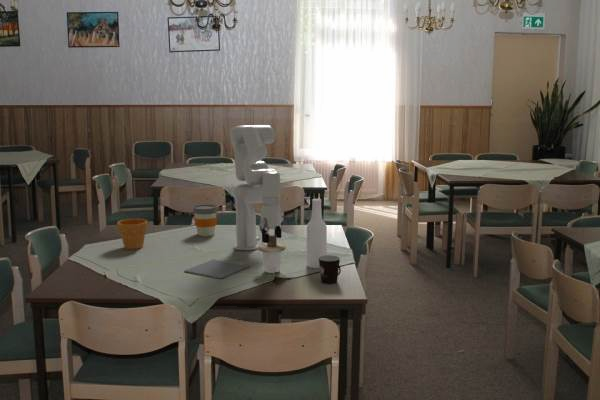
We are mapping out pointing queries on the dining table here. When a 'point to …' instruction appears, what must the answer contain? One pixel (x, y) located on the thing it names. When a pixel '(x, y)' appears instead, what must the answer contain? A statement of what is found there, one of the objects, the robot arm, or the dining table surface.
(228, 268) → the mat
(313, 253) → the alcohol
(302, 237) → the dining table surface
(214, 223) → the reusable coffee cup
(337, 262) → the coffee mug
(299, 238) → the dining table surface
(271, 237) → the lid
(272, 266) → the white cup
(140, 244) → the flower pot
